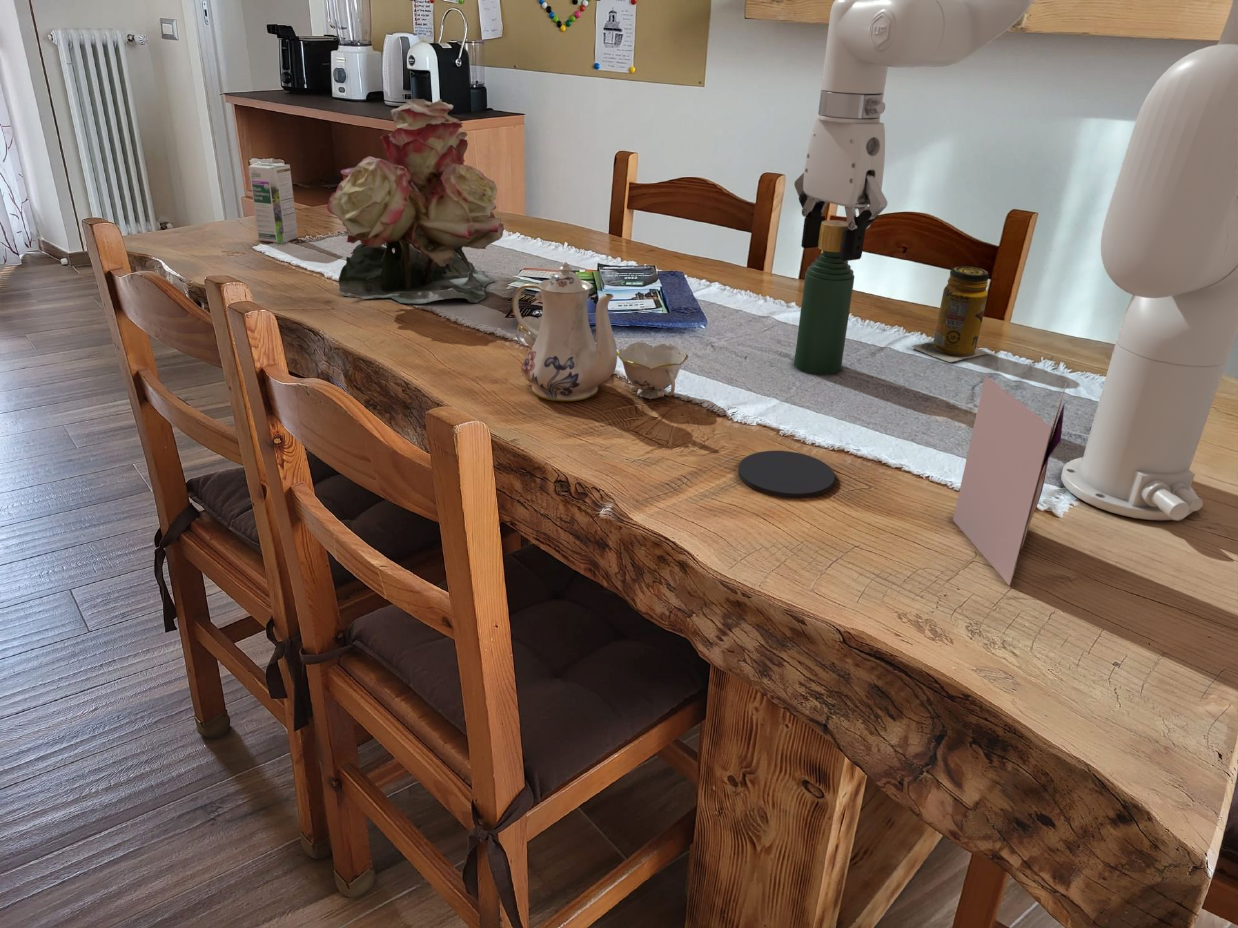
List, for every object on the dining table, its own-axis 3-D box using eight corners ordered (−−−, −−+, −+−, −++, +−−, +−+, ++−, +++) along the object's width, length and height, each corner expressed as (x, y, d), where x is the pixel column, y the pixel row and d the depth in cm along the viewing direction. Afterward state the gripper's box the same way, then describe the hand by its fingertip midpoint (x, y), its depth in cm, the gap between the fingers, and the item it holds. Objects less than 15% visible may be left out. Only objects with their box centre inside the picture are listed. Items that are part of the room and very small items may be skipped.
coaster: (846, 497, 92) (847, 492, 92) (749, 499, 91) (750, 494, 91) (818, 454, 101) (818, 449, 101) (729, 455, 100) (729, 451, 100)
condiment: (987, 354, 134) (1005, 273, 129) (950, 363, 130) (967, 280, 124) (947, 339, 139) (963, 261, 134) (909, 348, 135) (924, 268, 130)
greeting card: (1020, 589, 78) (1063, 429, 72) (932, 564, 81) (965, 409, 75) (1037, 531, 87) (1076, 385, 81) (957, 511, 90) (989, 368, 84)
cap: (851, 253, 118) (855, 227, 116) (821, 252, 118) (824, 226, 116) (845, 246, 121) (848, 220, 120) (815, 244, 121) (818, 219, 120)
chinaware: (703, 402, 118) (720, 272, 112) (633, 431, 105) (647, 286, 99) (534, 355, 132) (541, 238, 126) (453, 376, 118) (456, 246, 112)
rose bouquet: (321, 303, 146) (298, 102, 132) (393, 260, 172) (380, 88, 158) (475, 317, 142) (467, 111, 129) (525, 271, 168) (523, 96, 154)
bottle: (847, 374, 124) (868, 235, 116) (801, 375, 123) (819, 234, 115) (832, 358, 130) (851, 224, 121) (788, 359, 129) (804, 224, 121)
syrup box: (257, 241, 182) (246, 165, 175) (275, 235, 187) (265, 161, 181) (282, 244, 180) (272, 167, 174) (299, 238, 186) (290, 163, 179)
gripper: (925, 115, 107) (900, 265, 115) (825, 101, 120) (808, 237, 128) (878, 116, 104) (855, 272, 112) (780, 102, 117) (766, 242, 125)
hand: (830, 252), depth 120 cm, fingers open, 6 cm apart
